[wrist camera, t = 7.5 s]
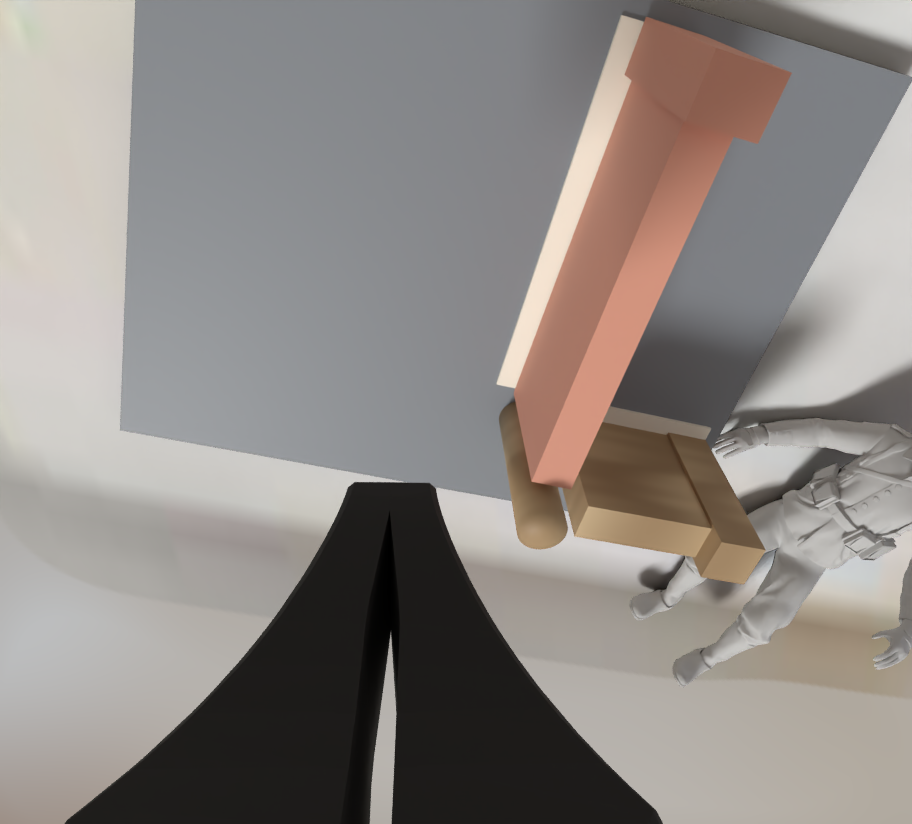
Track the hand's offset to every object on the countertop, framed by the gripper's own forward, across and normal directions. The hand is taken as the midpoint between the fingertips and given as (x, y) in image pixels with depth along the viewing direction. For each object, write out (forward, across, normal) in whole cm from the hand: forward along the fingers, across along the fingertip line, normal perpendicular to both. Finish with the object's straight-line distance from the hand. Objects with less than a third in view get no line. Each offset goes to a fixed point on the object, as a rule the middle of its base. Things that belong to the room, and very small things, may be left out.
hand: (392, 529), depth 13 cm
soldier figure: (+10, -12, +7) cm, 17 cm away
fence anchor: (+9, -6, +4) cm, 12 cm away
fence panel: (+8, -5, -2) cm, 10 cm away
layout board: (+9, -2, -1) cm, 10 cm away
